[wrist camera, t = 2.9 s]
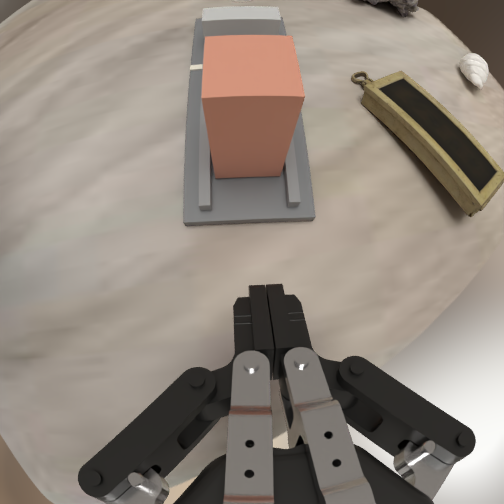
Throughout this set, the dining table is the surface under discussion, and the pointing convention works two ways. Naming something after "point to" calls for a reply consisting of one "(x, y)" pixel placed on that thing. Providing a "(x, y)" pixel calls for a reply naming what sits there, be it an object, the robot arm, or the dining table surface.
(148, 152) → the dining table surface
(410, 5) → the mineral specimen
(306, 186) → the grey slide track
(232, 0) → the medallion
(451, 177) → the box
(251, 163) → the salmon rectangular block
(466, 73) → the white seashell
